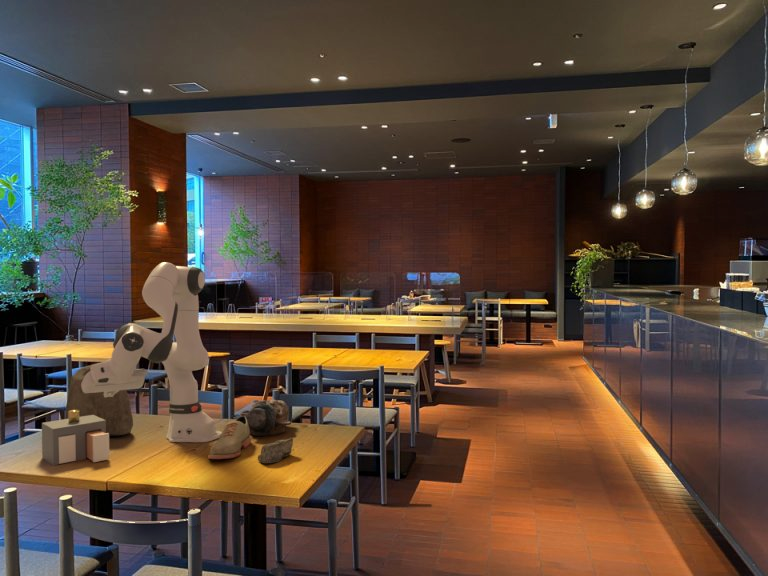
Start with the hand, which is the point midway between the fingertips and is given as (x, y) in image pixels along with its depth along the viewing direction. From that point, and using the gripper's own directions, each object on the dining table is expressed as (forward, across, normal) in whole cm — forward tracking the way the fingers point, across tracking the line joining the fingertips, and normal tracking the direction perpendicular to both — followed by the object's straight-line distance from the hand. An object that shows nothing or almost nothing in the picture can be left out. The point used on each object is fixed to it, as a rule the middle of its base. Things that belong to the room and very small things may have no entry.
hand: (108, 395), depth 212 cm
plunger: (+25, 0, +9) cm, 27 cm away
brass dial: (+22, +5, -5) cm, 23 cm away
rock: (-10, -46, +42) cm, 64 cm away
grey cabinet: (+31, +4, +4) cm, 32 cm away
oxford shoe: (+4, -39, +29) cm, 48 cm away
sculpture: (+15, -66, +17) cm, 69 cm away
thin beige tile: (+30, +9, +4) cm, 32 cm away
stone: (+52, -18, -19) cm, 58 cm away
